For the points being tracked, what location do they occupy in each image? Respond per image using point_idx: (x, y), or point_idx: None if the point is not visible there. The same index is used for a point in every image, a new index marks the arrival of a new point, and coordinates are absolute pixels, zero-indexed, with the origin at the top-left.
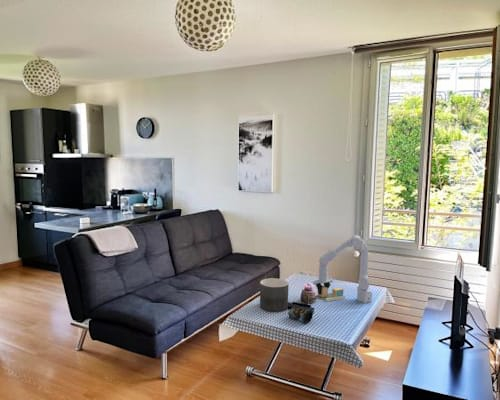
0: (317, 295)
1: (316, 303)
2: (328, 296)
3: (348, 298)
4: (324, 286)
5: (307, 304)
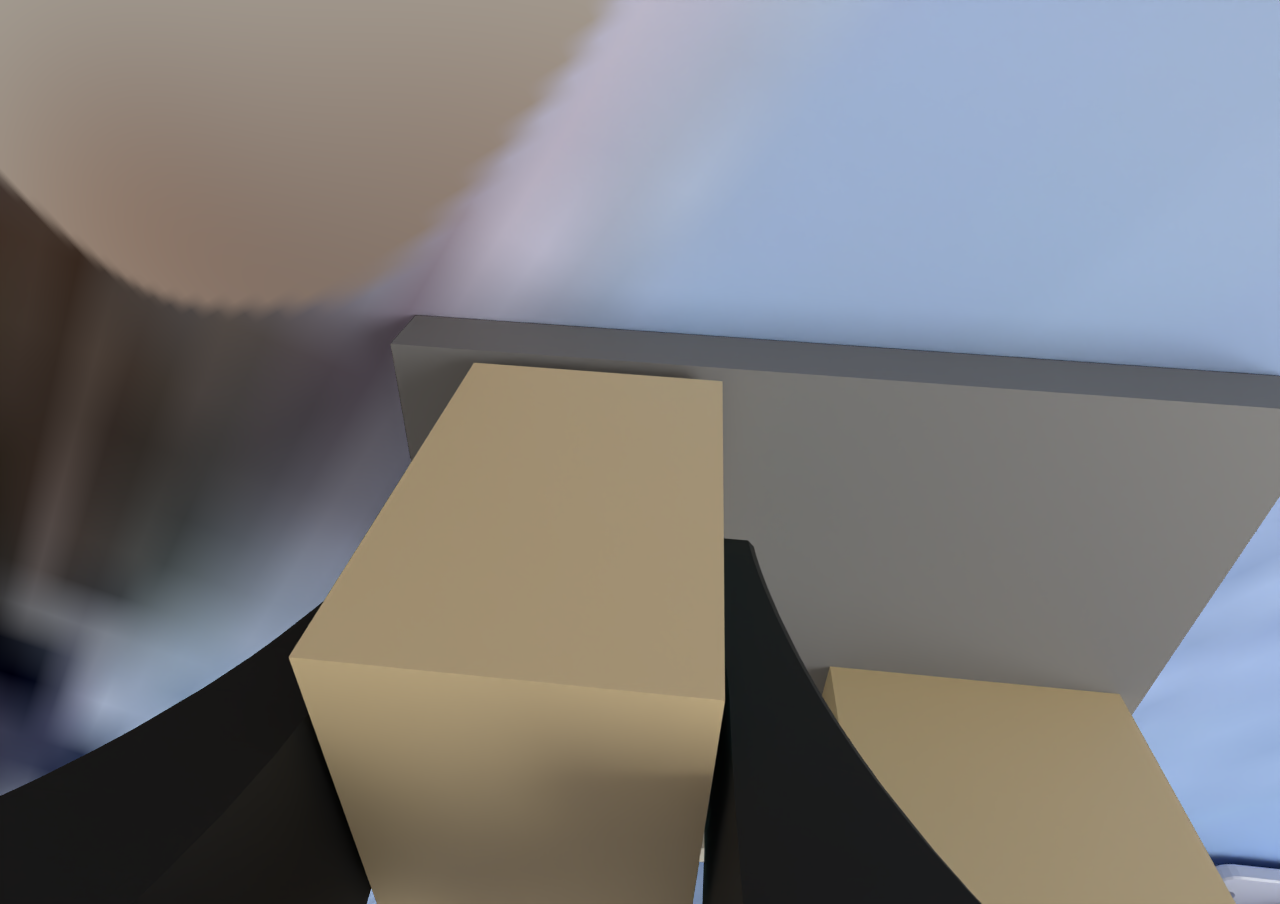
0: (465, 370)
1: (247, 650)
2: (776, 590)
3: (1250, 760)
4: (684, 835)
5: (3, 609)
